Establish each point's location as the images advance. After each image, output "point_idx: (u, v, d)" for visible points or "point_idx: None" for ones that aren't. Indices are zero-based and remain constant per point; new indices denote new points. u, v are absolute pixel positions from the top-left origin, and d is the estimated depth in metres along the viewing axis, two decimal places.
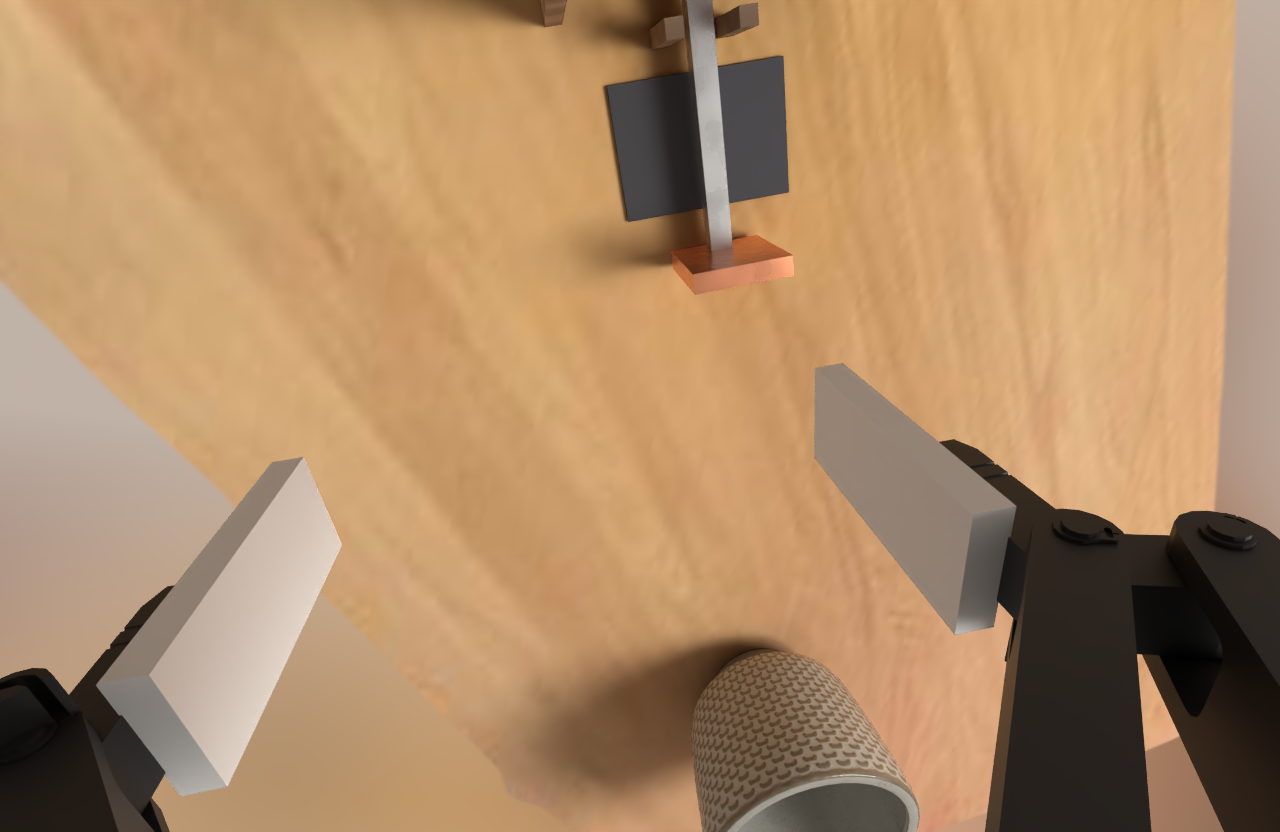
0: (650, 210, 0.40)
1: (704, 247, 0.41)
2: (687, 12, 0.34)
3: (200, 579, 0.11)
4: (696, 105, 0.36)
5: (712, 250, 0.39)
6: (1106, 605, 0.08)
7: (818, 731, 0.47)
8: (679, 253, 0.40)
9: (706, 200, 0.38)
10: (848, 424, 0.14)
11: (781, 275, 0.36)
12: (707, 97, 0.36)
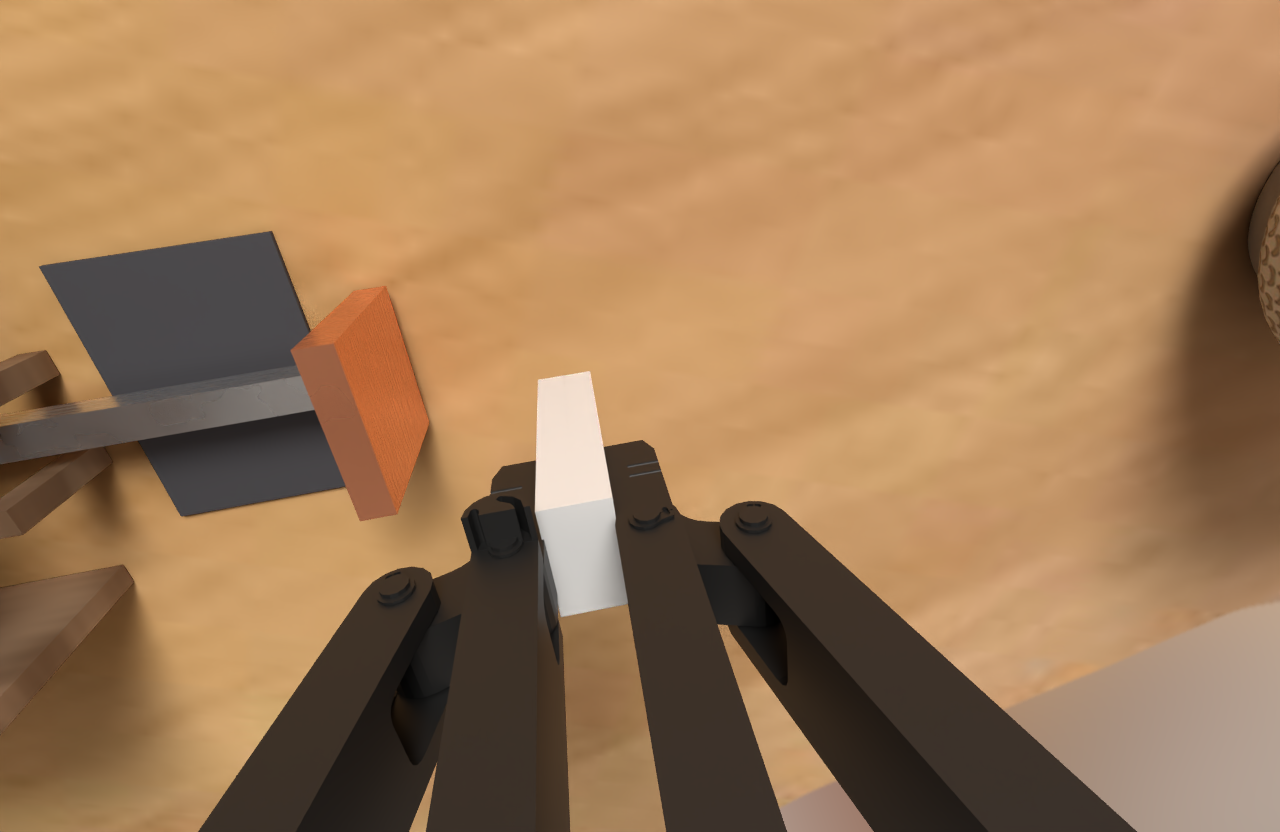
0: None
1: None
2: None
3: (555, 451, 0.13)
4: None
5: None
6: (681, 572, 0.10)
7: None
8: None
9: (288, 412, 0.23)
10: None
11: (338, 367, 0.18)
12: (119, 426, 0.22)
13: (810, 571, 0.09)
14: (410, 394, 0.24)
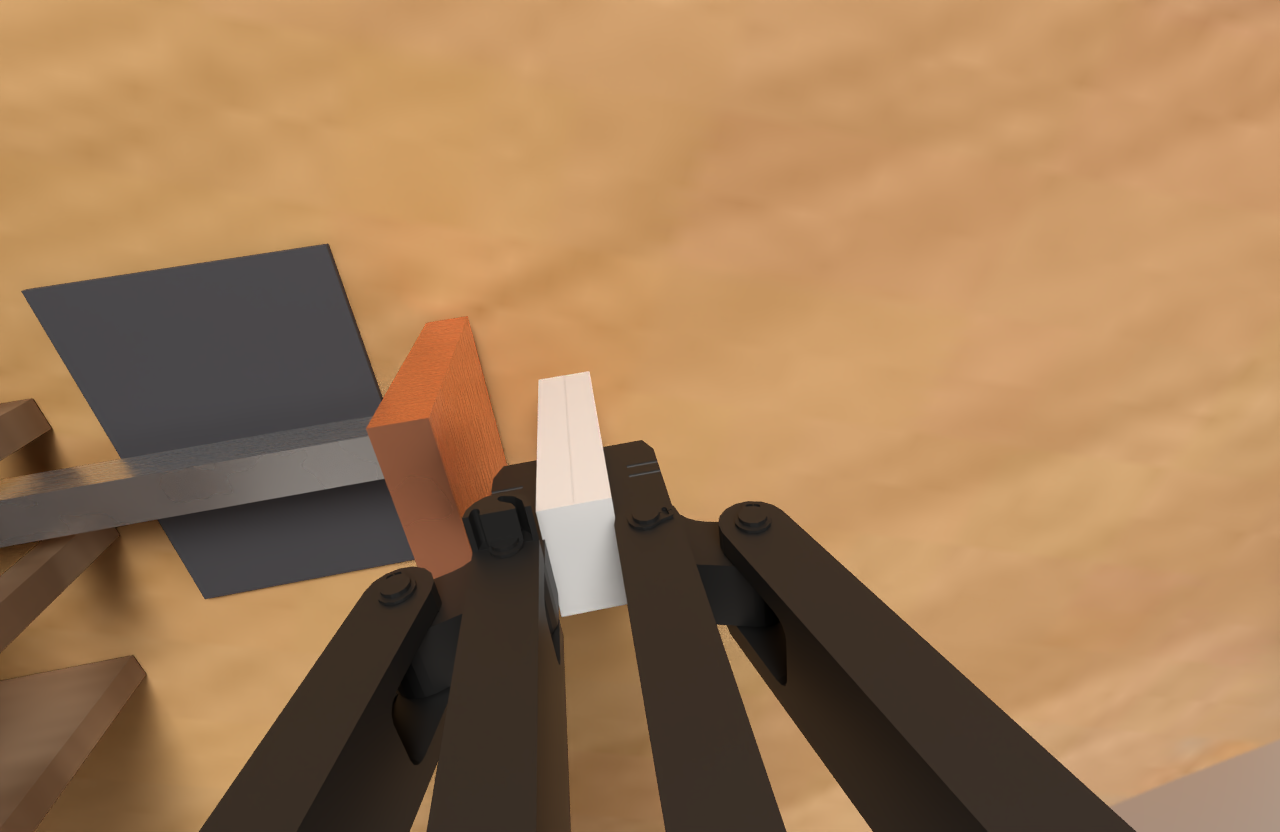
0: None
1: None
2: None
3: (556, 451, 0.13)
4: None
5: None
6: (680, 572, 0.10)
7: None
8: None
9: (341, 483, 0.18)
10: None
11: (433, 451, 0.12)
12: (119, 504, 0.17)
13: (809, 571, 0.09)
14: (496, 457, 0.19)
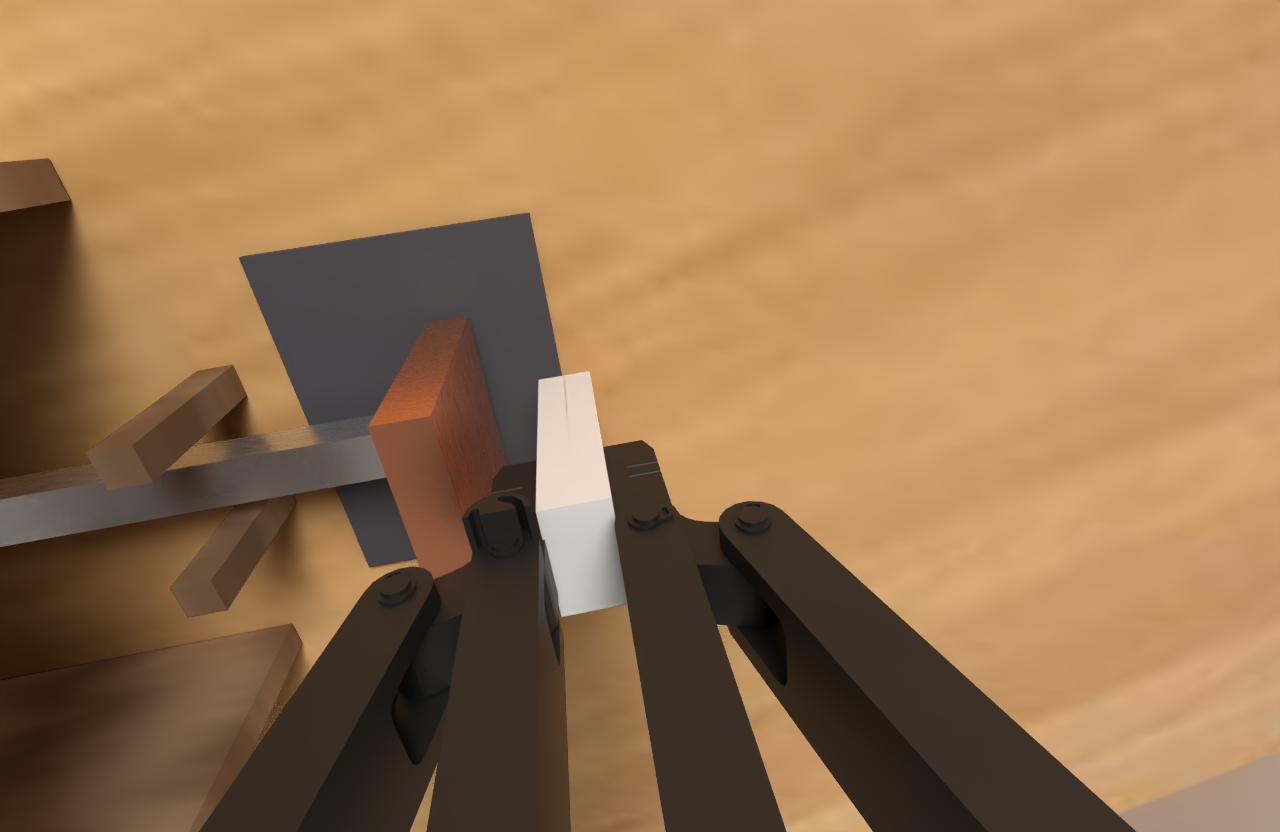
0: None
1: None
2: None
3: (556, 451, 0.13)
4: None
5: None
6: (680, 572, 0.10)
7: None
8: None
9: (342, 482, 0.18)
10: None
11: (434, 450, 0.12)
12: (121, 503, 0.17)
13: (809, 571, 0.09)
14: (497, 456, 0.19)
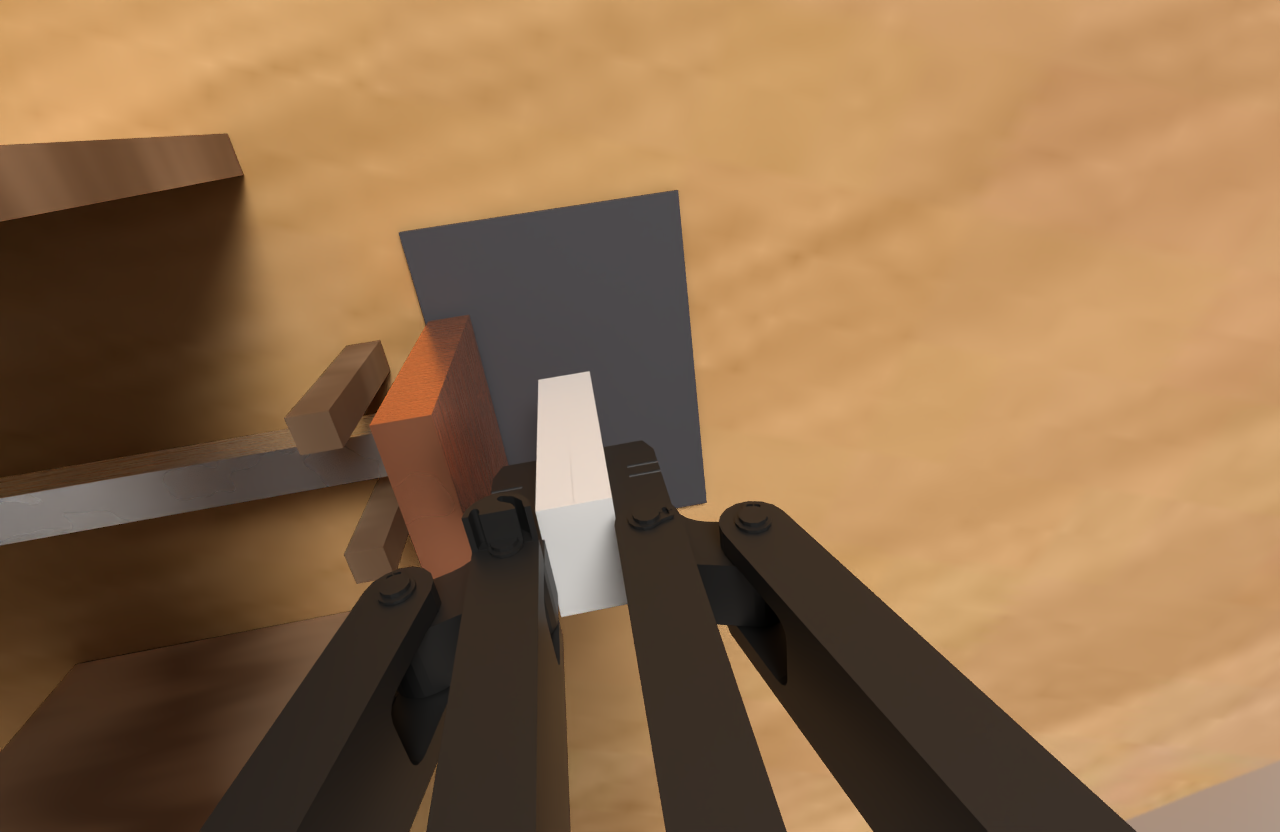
0: (690, 469, 0.22)
1: None
2: None
3: (555, 451, 0.13)
4: None
5: None
6: (680, 572, 0.10)
7: None
8: None
9: (343, 481, 0.18)
10: None
11: (435, 448, 0.12)
12: (123, 502, 0.17)
13: (809, 571, 0.09)
14: (497, 455, 0.19)
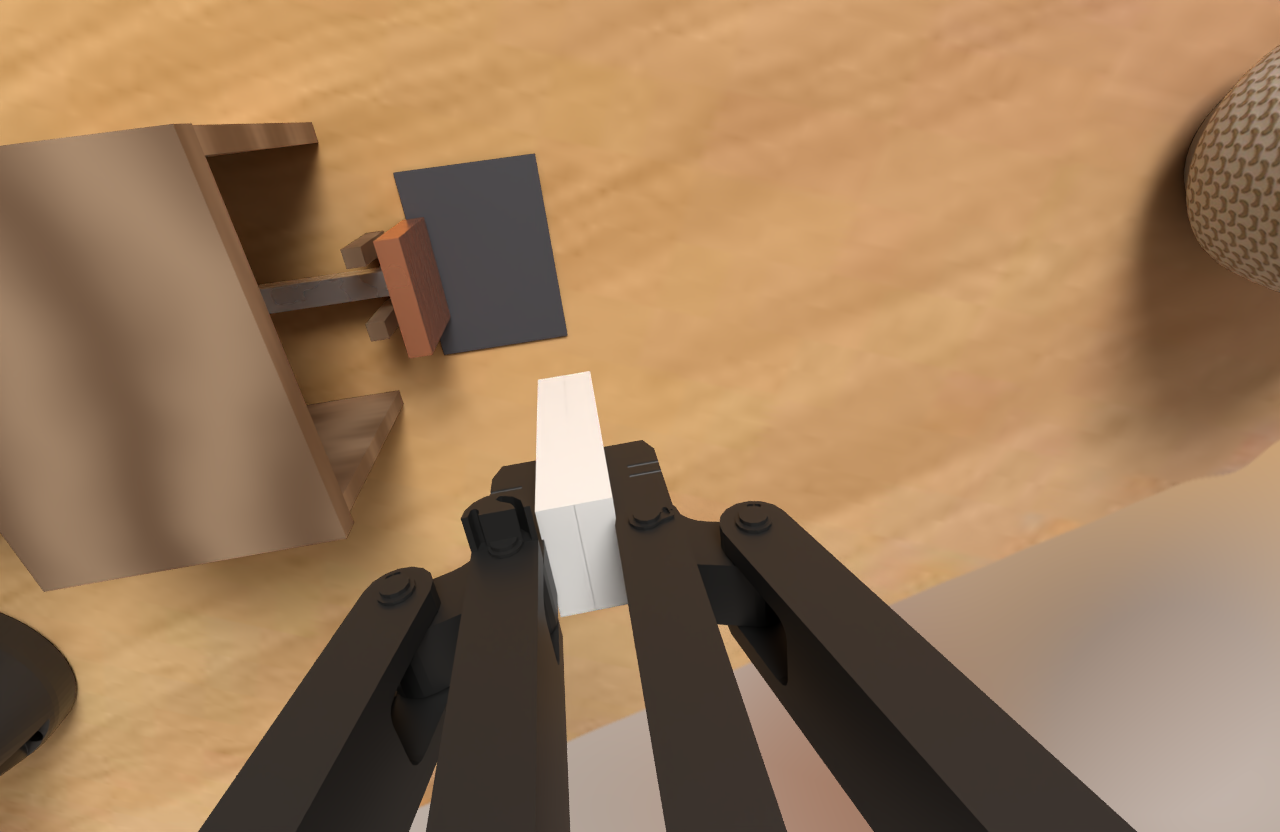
0: (555, 313, 0.39)
1: None
2: None
3: (555, 451, 0.13)
4: None
5: None
6: (680, 572, 0.10)
7: None
8: None
9: (359, 299, 0.35)
10: None
11: (400, 253, 0.29)
12: None
13: (810, 571, 0.09)
14: (438, 291, 0.36)
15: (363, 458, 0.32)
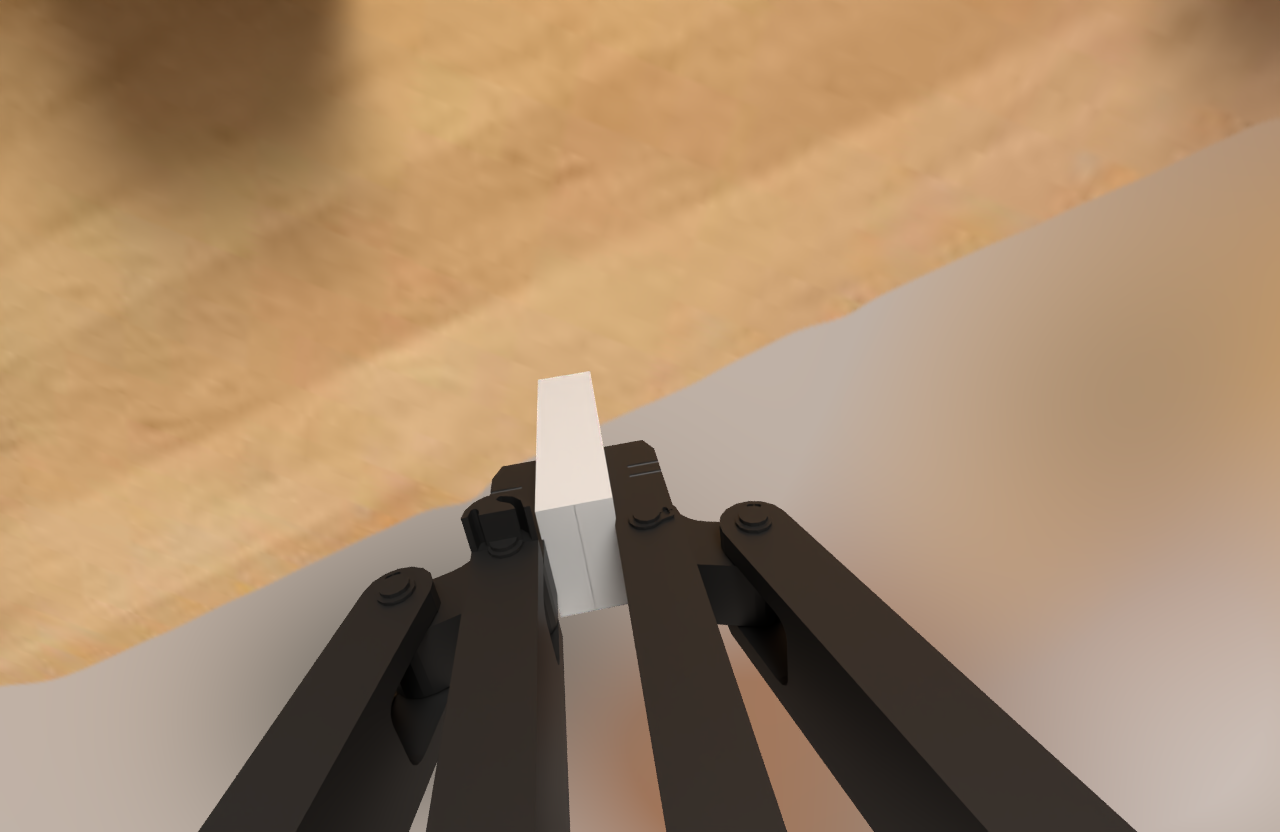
0: None
1: None
2: None
3: (555, 451, 0.13)
4: None
5: None
6: (681, 572, 0.10)
7: None
8: None
9: None
10: None
11: None
12: None
13: (810, 571, 0.09)
14: None
15: None
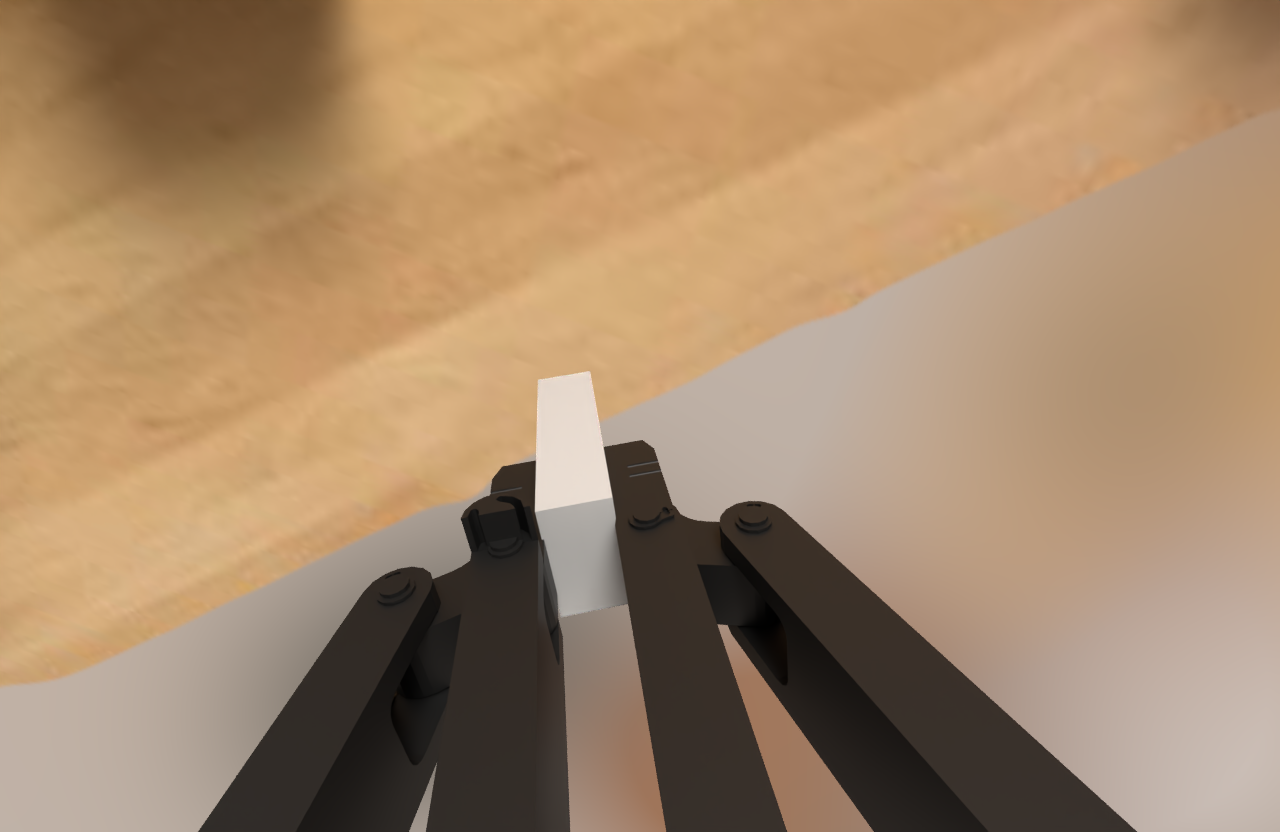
0: None
1: None
2: None
3: (555, 451, 0.13)
4: None
5: None
6: (681, 572, 0.10)
7: None
8: None
9: None
10: None
11: None
12: None
13: (810, 571, 0.09)
14: None
15: None
